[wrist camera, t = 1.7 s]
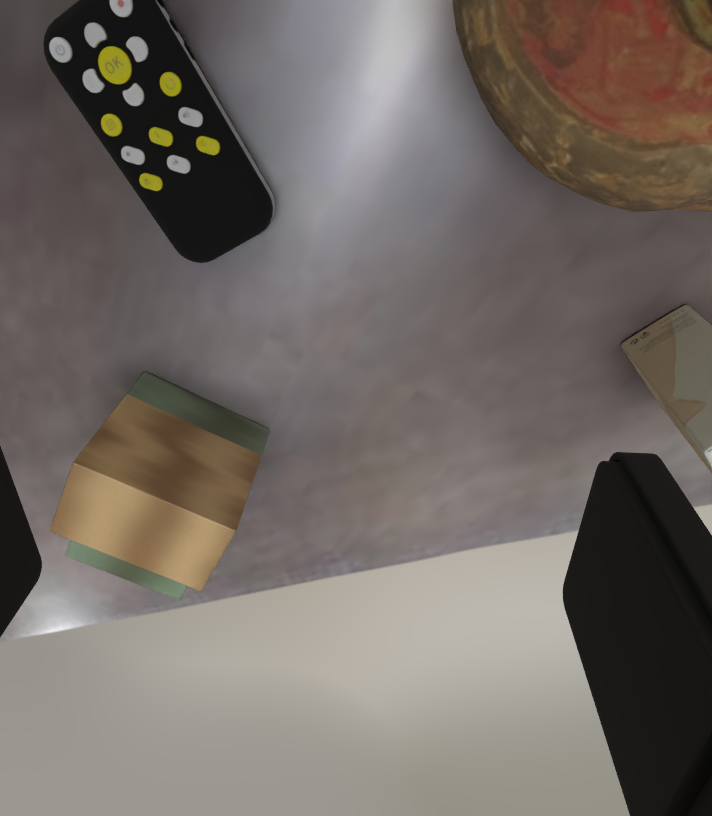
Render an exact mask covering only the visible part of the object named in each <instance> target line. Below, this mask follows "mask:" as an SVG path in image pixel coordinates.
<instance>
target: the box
mask: <svg viewBox="0 0 712 816" xmlns="http://www.w3.org/2000/svg"><path fill="white" fill-rule="evenodd" d="M621 347H622V349H623V350H624V352H625V353H626V355H627V357H628V358H629V360H630V361H631V363H632V364H633V366H634V368H635V369H636V371H637V372H638V374H639V375H640V377H641V378H642V380H643V381H644V383H645V384H646V386H647V387H648V389H649V390H650V392H651V393H652V395H653V396H654V398H655V399H656V400H657V402H658V403H659V404H660V406H661V407H662V408H663V410H664V411H665V412H666V413H667V415H668V416H669V417H670V419H671V420H672V421H673V423H674V424H675V425H676V427H677V428H678V429H679V431H680V432H681V433H682V435H683V436H684V437H685V439H686V440H687V441H688V442H689V444H690V445H691V446H692V448H693V449H694V450H695V452H696V453H697V454H698V456H699V457H700V458H701V459H702V461H703V462H704V463H705V465H706V466H707V467H708V469H709V470H710V471H711V473H712V325H711V324H709V323H708V322H707V321H706V320H705V319H703V318H702V317H701V316H700V315H699V314H698V313H697V312H695V311H694V310H693V309H692V308H691V307H690V306H689V305H684V306H682V307H680V308H679V309H677V310H675V311H673V312H672V313H670V314H668V315H667V316H665V317H663V318H661V319H660V320H658V321H656V322H655V323H653V324H651V325H650V326H648V327H647V328H645V329H643V330H642V331H640V332H639V333H637V334H635V335H634V336H632V337H631V338H629V339H628V340H626V341H625V342H623V343H622V344H621Z"/></svg>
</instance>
